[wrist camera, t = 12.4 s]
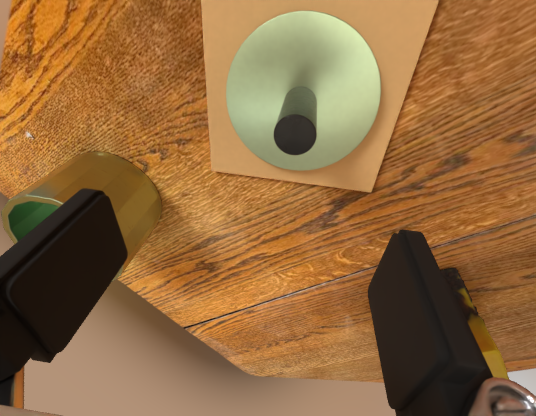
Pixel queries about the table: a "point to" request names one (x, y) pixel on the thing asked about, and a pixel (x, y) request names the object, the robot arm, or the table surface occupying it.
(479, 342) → the candle
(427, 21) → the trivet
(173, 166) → the table surface
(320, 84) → the lid
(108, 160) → the pot
